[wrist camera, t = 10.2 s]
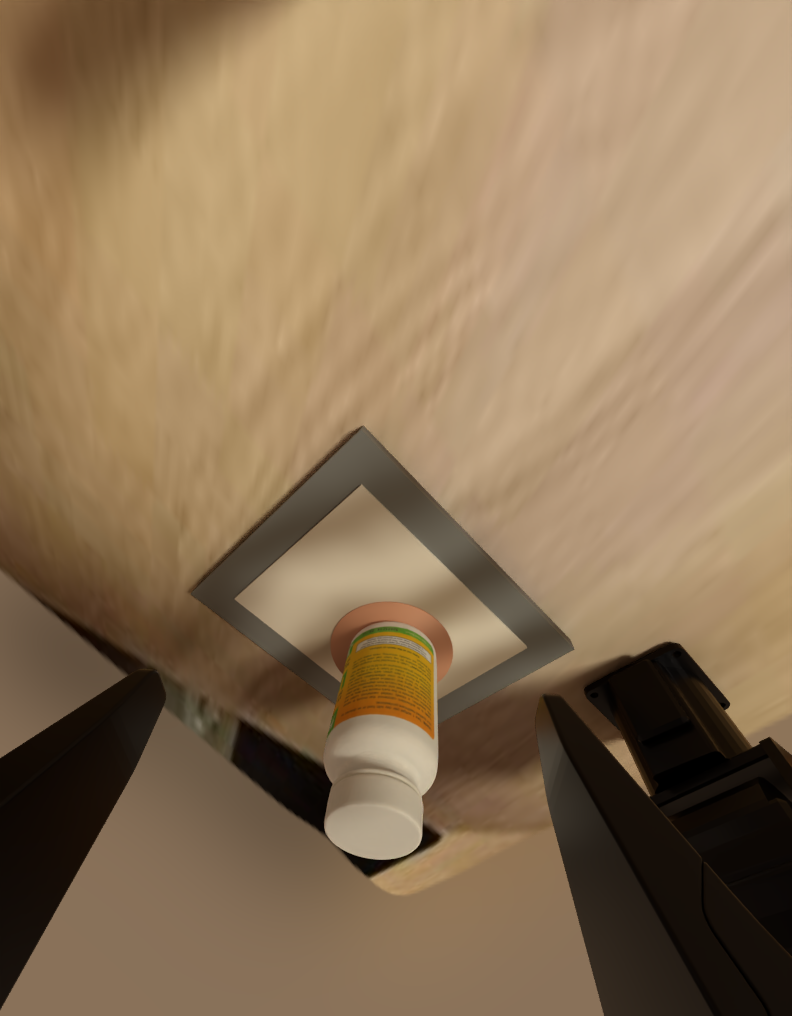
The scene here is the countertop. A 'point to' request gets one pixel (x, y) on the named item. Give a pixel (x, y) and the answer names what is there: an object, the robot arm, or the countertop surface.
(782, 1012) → the robot arm
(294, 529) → the grey bordered rectangular panel
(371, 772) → the supplement bottle
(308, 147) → the countertop surface
